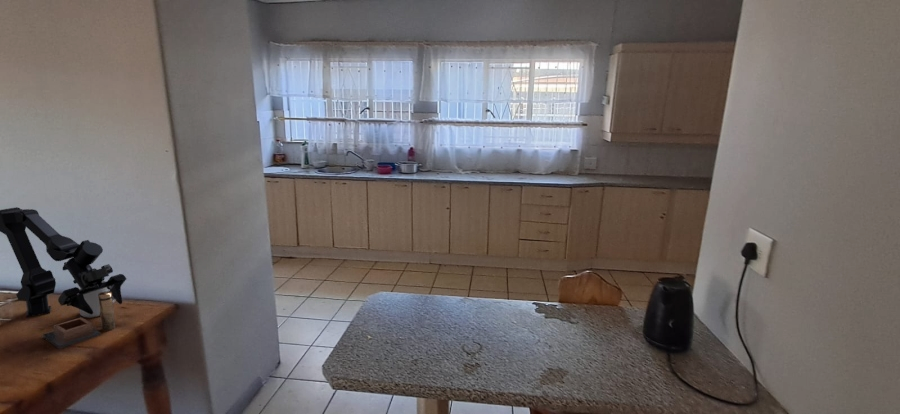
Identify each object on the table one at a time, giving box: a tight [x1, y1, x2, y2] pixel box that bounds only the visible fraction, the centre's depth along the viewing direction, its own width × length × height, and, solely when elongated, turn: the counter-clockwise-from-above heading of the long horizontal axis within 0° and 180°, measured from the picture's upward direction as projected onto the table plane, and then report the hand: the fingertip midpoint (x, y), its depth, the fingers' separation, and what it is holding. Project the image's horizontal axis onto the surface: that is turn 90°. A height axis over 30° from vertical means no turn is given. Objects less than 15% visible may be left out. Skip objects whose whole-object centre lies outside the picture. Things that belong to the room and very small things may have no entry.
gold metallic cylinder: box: [98, 290, 116, 332], centre depth 148 cm, size 4×4×13 cm
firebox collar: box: [42, 316, 101, 349], centre depth 143 cm, size 12×11×4 cm
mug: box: [76, 280, 117, 318], centre depth 160 cm, size 12×9×11 cm
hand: (107, 308), depth 148 cm, fingers open, 9 cm apart
